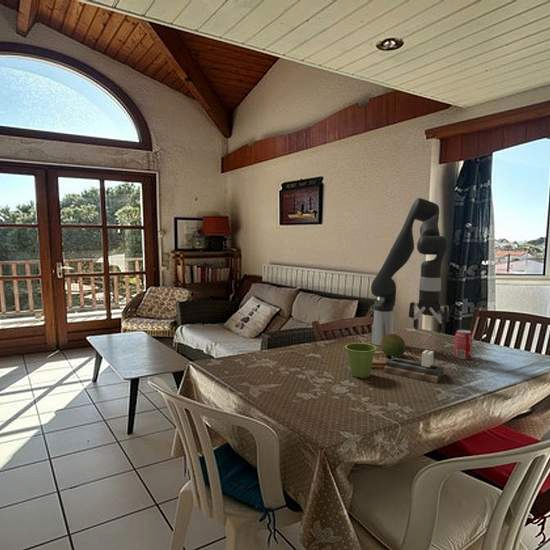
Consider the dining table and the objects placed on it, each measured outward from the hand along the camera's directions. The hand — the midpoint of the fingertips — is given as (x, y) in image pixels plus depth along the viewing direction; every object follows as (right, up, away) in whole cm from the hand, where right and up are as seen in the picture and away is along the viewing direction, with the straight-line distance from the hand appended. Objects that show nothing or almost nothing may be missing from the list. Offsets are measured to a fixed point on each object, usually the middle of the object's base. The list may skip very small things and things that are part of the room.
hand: (427, 330), depth 151 cm
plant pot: (-25, -18, +2) cm, 31 cm away
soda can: (+25, -16, +24) cm, 38 cm away
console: (-4, -17, +5) cm, 18 cm away
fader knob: (0, -15, +2) cm, 15 cm away
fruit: (-5, -16, +26) cm, 31 cm away
